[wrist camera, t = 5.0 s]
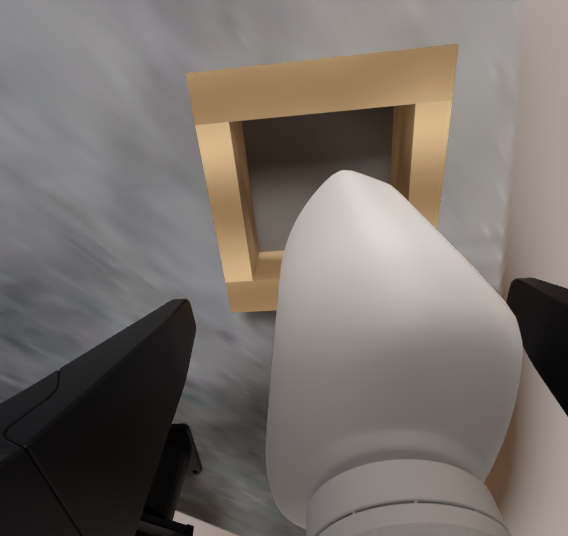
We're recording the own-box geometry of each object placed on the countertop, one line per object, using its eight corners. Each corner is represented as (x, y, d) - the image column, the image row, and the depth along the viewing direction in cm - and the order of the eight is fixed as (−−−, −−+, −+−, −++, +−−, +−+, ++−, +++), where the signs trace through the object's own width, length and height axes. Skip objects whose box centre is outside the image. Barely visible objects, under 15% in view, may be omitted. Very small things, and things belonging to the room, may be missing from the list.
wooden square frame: (408, 268, 23) (428, 301, 19) (241, 278, 23) (231, 312, 20) (425, 53, 17) (458, 44, 14) (207, 76, 18) (185, 73, 14)
